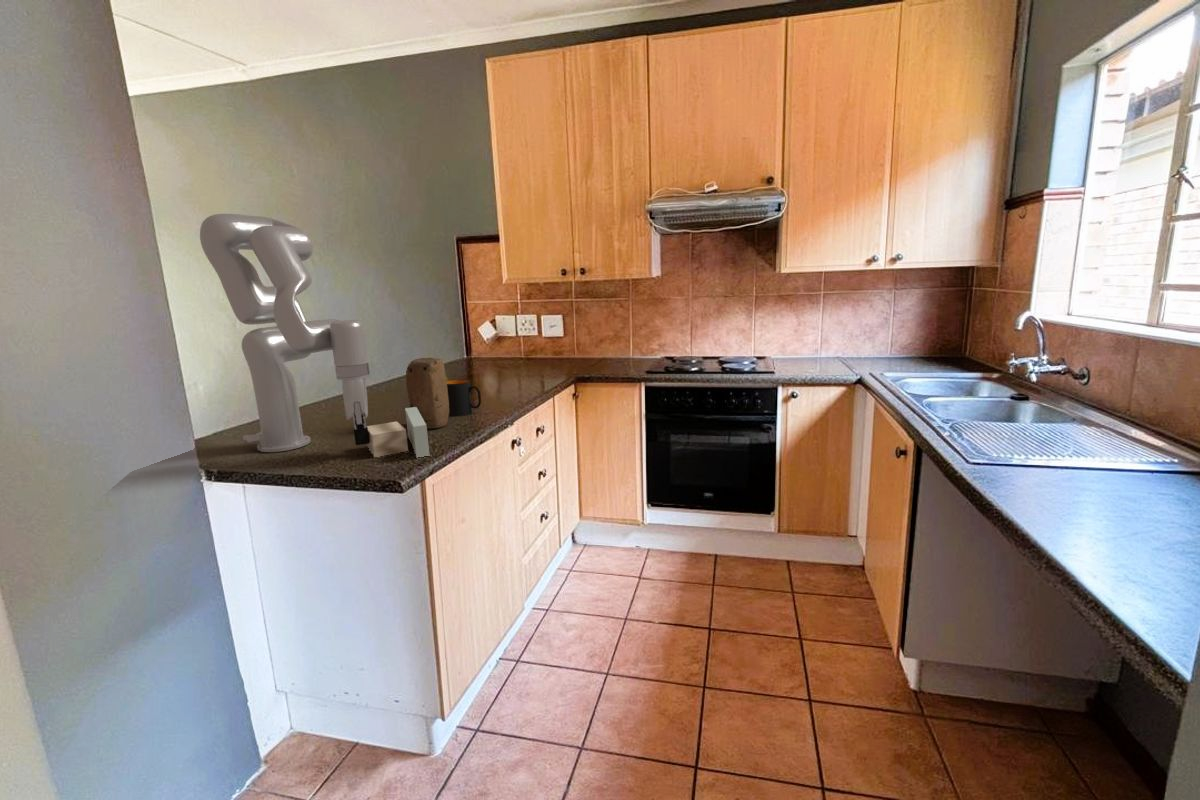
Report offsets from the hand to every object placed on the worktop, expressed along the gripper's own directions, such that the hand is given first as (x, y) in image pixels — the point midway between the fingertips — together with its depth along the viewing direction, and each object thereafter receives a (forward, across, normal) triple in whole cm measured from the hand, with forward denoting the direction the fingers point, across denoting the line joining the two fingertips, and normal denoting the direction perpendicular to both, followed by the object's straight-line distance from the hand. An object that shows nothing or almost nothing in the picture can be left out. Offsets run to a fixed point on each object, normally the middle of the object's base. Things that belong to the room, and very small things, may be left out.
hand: (362, 443), depth 141 cm
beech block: (+3, -1, +6) cm, 6 cm away
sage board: (+3, 0, +13) cm, 13 cm away
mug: (+3, -30, +30) cm, 43 cm away
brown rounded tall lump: (+3, -19, +18) cm, 27 cm away
